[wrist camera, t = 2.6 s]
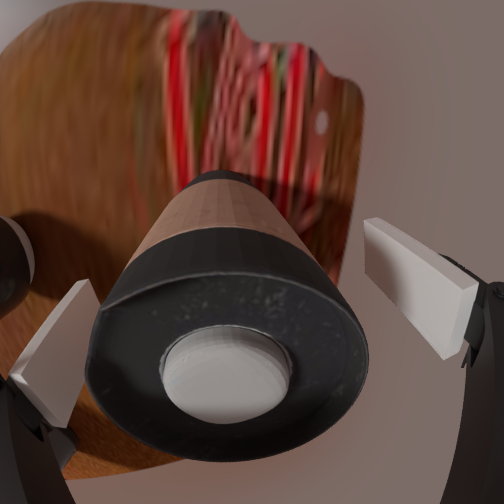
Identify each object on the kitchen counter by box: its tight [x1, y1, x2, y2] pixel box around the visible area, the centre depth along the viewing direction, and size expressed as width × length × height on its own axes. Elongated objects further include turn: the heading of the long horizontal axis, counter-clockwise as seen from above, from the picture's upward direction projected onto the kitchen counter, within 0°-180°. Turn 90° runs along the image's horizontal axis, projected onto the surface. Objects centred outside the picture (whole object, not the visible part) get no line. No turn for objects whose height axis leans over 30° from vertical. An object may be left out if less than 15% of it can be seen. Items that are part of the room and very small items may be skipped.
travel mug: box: [84, 170, 369, 462], centre depth 15 cm, size 8×8×20 cm
